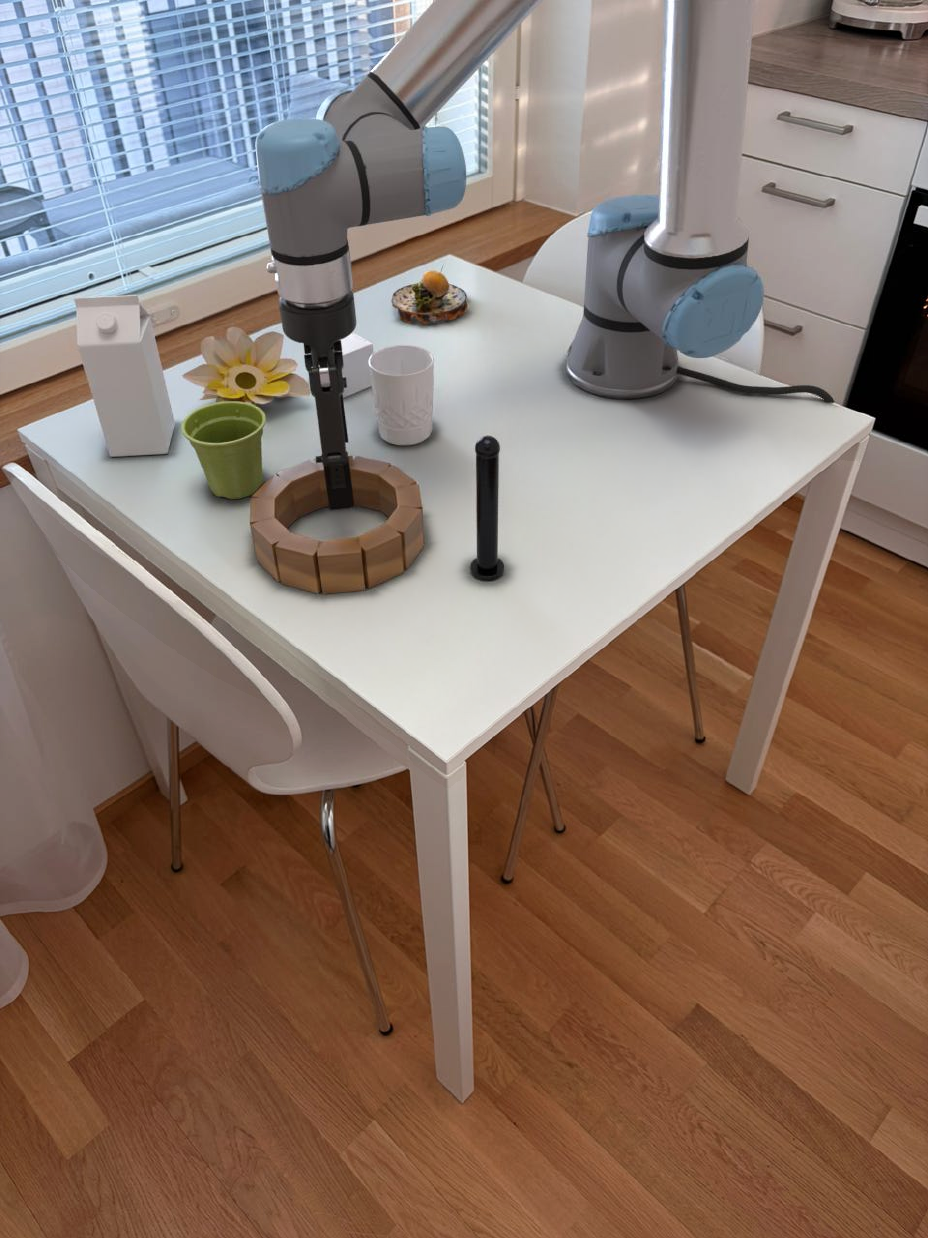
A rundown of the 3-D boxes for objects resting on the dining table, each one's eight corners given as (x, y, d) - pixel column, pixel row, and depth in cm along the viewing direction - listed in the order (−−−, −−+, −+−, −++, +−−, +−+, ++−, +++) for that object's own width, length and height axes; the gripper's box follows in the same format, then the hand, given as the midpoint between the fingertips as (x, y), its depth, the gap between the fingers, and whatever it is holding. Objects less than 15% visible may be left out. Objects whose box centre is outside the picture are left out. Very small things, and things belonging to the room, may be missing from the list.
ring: (414, 486, 117) (412, 450, 114) (431, 583, 103) (429, 545, 100) (259, 500, 115) (252, 463, 112) (255, 600, 102) (247, 562, 98)
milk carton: (120, 428, 128) (80, 285, 115) (175, 425, 128) (142, 282, 116) (110, 458, 123) (67, 311, 110) (168, 454, 123) (132, 308, 110)
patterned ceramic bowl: (435, 285, 160) (433, 239, 155) (483, 309, 153) (483, 261, 148) (375, 307, 154) (371, 259, 149) (422, 332, 147) (420, 283, 142)
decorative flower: (204, 432, 123) (189, 350, 119) (183, 412, 132) (168, 336, 128) (317, 410, 129) (307, 332, 124) (289, 392, 138) (279, 319, 133)
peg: (501, 558, 106) (503, 426, 96) (506, 579, 104) (509, 445, 93) (468, 561, 106) (466, 429, 95) (472, 582, 103) (471, 449, 93)
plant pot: (209, 517, 113) (194, 452, 107) (186, 476, 119) (171, 413, 113) (287, 495, 116) (276, 430, 110) (261, 456, 122) (250, 393, 117)
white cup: (428, 451, 123) (425, 378, 116) (367, 445, 124) (360, 372, 117) (442, 419, 128) (440, 347, 122) (383, 413, 130) (378, 342, 123)
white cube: (376, 384, 136) (373, 343, 132) (340, 399, 133) (336, 357, 129) (349, 368, 139) (345, 328, 135) (314, 383, 136) (309, 342, 132)
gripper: (278, 248, 108) (304, 420, 122) (277, 353, 89) (308, 542, 103) (347, 242, 108) (365, 414, 122) (360, 346, 90) (380, 534, 104)
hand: (339, 473), depth 113 cm, fingers open, 13 cm apart
